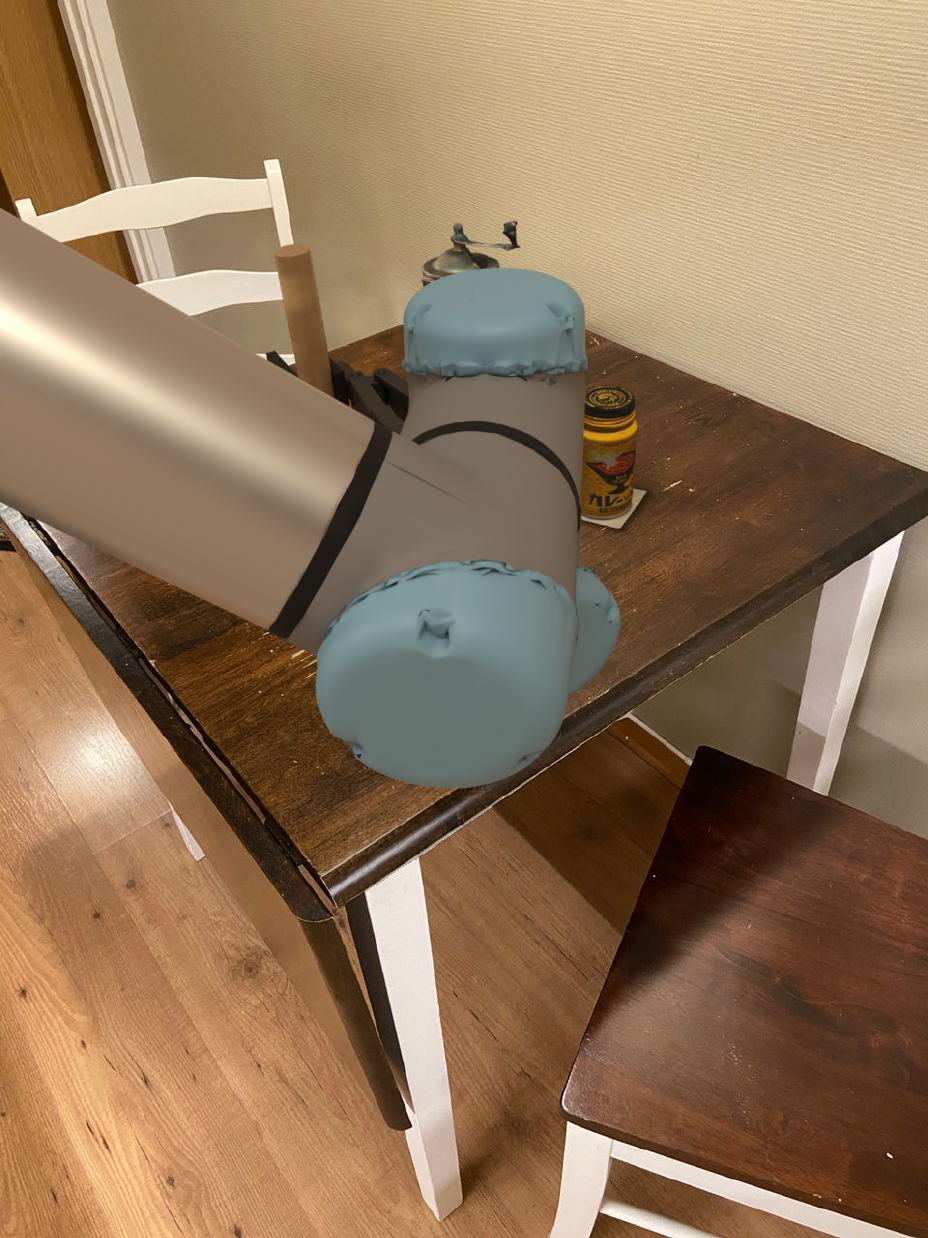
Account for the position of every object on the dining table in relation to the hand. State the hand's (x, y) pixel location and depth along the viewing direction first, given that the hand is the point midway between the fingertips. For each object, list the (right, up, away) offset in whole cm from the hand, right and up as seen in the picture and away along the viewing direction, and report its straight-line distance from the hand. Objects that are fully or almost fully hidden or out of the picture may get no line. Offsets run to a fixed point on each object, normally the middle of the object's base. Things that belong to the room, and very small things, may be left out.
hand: (293, 363), depth 68 cm
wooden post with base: (+3, -12, +4) cm, 13 cm away
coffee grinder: (+15, +16, +51) cm, 56 cm away
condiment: (+27, -8, +22) cm, 36 cm away
